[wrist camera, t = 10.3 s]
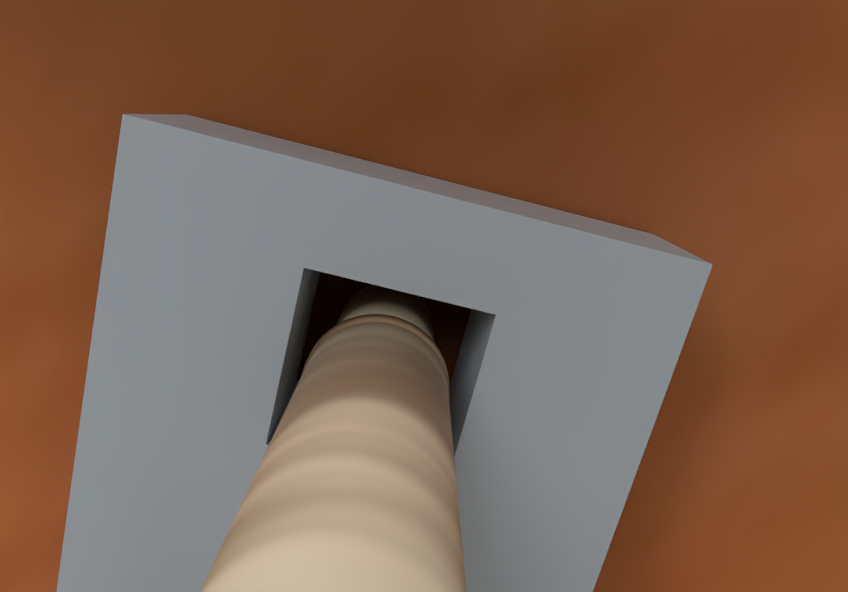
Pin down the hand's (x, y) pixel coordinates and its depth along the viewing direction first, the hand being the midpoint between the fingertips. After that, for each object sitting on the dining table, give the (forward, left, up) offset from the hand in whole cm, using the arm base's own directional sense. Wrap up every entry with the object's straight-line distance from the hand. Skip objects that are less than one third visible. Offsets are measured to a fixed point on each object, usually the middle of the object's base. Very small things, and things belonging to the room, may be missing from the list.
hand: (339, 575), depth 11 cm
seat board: (+5, 0, -14) cm, 15 cm away
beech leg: (0, 0, -14) cm, 14 cm away
